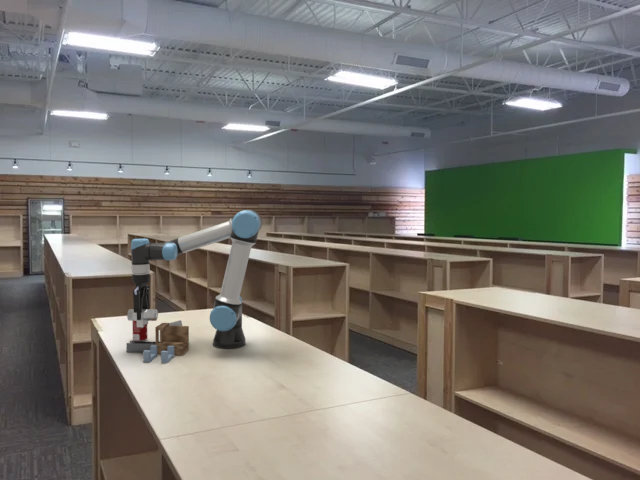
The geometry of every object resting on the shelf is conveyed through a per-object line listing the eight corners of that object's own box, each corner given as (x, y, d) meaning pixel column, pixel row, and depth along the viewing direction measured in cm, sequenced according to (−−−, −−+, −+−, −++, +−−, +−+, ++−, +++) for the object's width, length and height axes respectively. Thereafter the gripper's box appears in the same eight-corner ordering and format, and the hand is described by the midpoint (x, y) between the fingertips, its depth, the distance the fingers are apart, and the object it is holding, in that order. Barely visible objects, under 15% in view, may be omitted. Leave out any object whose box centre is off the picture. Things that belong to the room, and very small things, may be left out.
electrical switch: (171, 343, 254) (170, 323, 254) (163, 342, 257) (162, 323, 257) (185, 339, 263) (184, 320, 262) (177, 338, 265) (176, 319, 265)
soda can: (138, 343, 254) (137, 318, 253) (129, 340, 258) (129, 315, 257) (150, 340, 259) (150, 315, 258) (142, 337, 263) (141, 313, 262)
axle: (158, 319, 241) (157, 308, 241) (153, 321, 236) (153, 310, 236) (131, 319, 242) (131, 308, 242) (127, 321, 237) (127, 310, 237)
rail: (160, 350, 242) (160, 341, 242) (156, 353, 237) (156, 344, 237) (130, 349, 243) (130, 340, 242) (126, 352, 238) (126, 343, 238)
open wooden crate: (188, 350, 243) (188, 323, 242) (182, 355, 235) (182, 328, 234) (162, 349, 244) (162, 322, 243) (155, 354, 235) (155, 327, 234)
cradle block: (174, 356, 233) (174, 345, 233) (166, 363, 224) (166, 352, 223) (151, 355, 233) (151, 345, 233) (143, 362, 224) (143, 351, 224)
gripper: (140, 270, 247) (142, 320, 248) (124, 276, 229) (125, 330, 231) (156, 271, 246) (158, 321, 248) (141, 276, 228) (142, 330, 230)
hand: (142, 325), depth 239 cm, fingers closed on axle, 5 cm apart
